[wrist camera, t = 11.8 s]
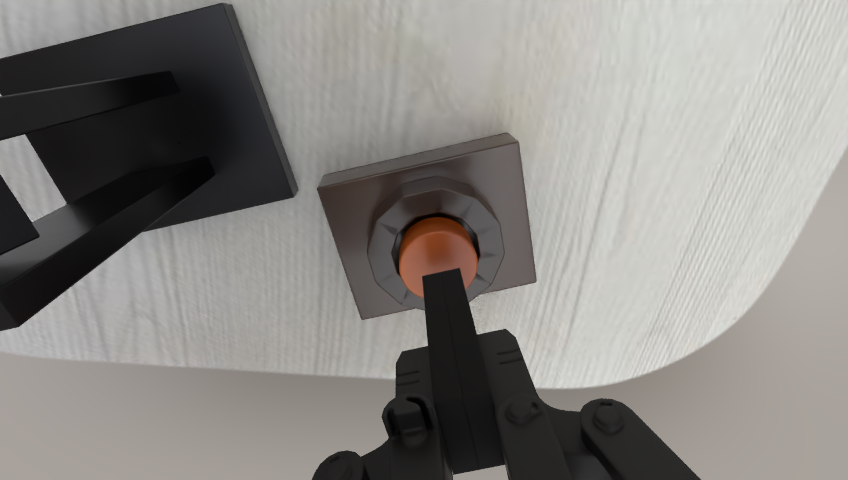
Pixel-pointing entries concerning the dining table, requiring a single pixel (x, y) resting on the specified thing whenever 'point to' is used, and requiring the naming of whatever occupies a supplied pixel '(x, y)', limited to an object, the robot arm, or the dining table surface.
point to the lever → (13, 222)
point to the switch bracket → (135, 142)
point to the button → (435, 252)
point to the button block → (425, 198)
